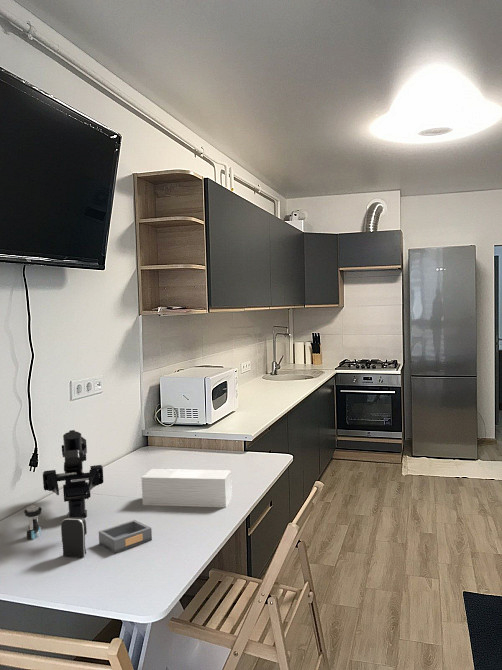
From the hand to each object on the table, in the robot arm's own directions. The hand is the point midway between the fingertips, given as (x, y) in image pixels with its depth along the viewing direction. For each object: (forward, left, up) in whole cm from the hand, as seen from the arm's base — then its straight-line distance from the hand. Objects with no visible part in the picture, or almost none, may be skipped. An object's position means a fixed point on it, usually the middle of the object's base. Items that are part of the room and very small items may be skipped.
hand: (73, 492), depth 179 cm
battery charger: (+8, 0, -17) cm, 19 cm away
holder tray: (+4, +15, -17) cm, 23 cm away
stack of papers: (-26, +40, -17) cm, 51 cm away
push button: (-12, -13, -17) cm, 24 cm away
